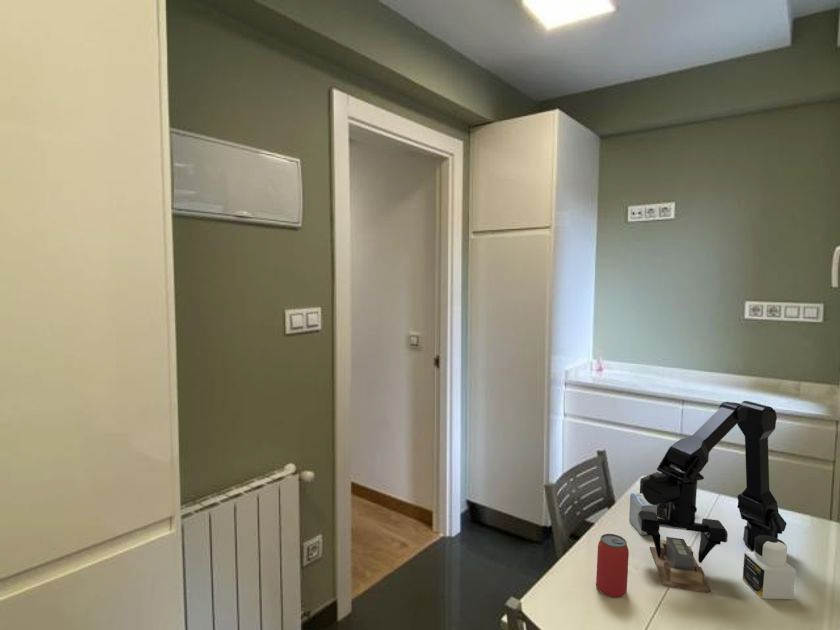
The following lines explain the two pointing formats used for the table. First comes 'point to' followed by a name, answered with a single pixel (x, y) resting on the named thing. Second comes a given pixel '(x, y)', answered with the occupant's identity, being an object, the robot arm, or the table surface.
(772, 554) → the medicine bottle
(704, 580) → the cradle board
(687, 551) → the power strip
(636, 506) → the medicine box
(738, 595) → the table surface
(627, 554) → the beer can
